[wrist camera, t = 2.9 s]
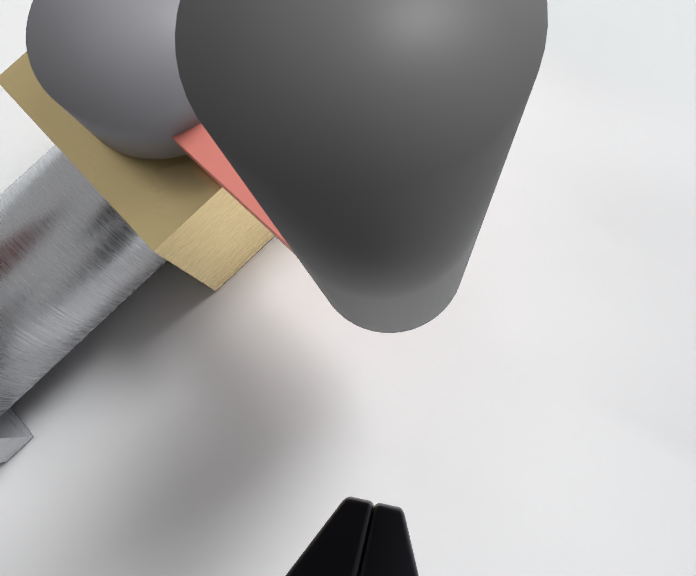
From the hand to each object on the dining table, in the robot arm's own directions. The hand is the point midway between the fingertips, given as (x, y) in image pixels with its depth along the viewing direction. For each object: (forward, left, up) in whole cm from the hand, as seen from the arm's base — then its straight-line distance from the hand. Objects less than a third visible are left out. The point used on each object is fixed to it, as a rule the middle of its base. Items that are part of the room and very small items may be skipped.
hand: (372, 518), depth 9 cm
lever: (+2, +7, -3) cm, 8 cm away
